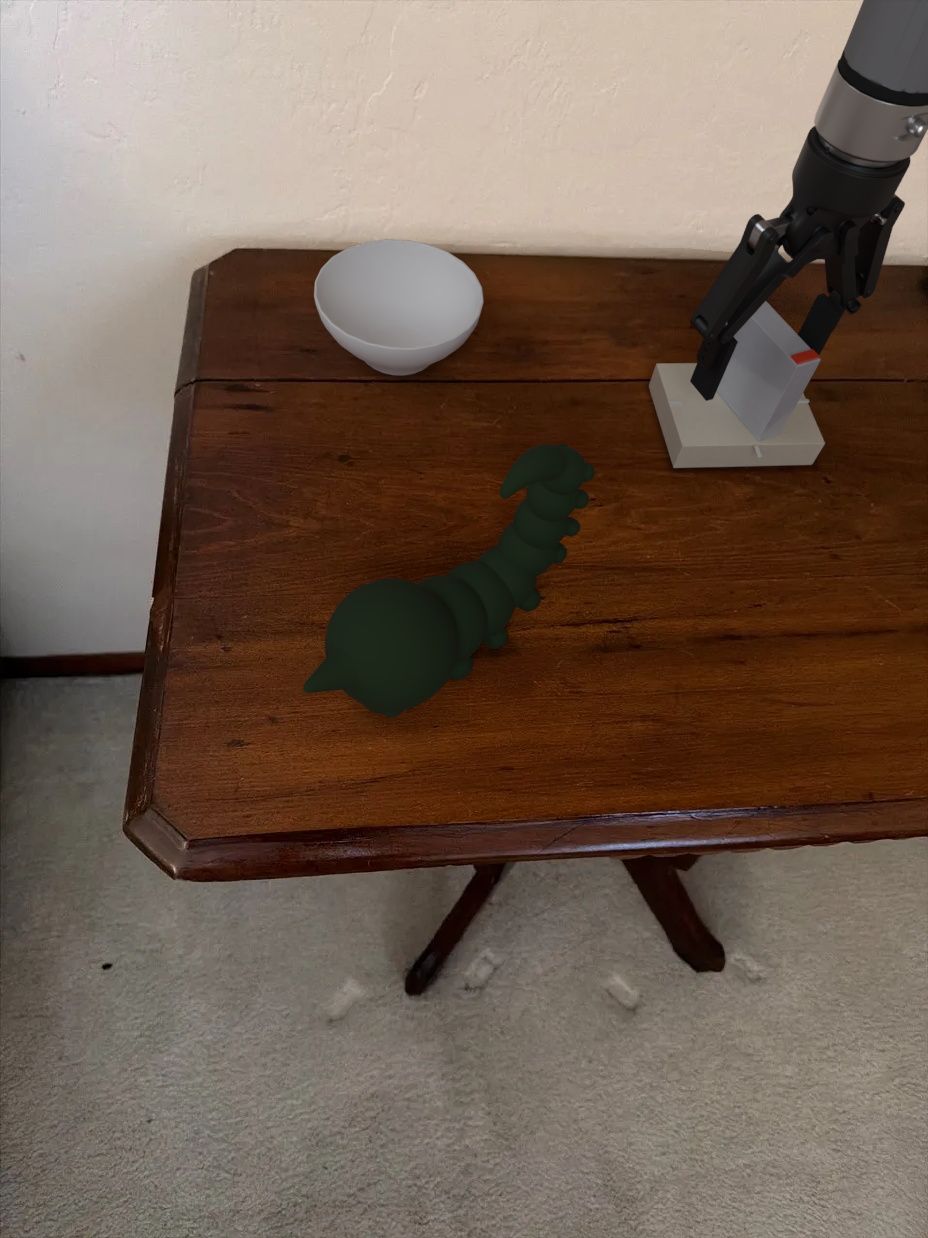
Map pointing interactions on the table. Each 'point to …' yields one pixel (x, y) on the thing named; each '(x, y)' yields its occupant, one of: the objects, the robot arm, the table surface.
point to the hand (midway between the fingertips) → (751, 375)
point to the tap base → (724, 427)
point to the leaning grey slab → (767, 373)
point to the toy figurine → (453, 597)
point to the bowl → (398, 303)
